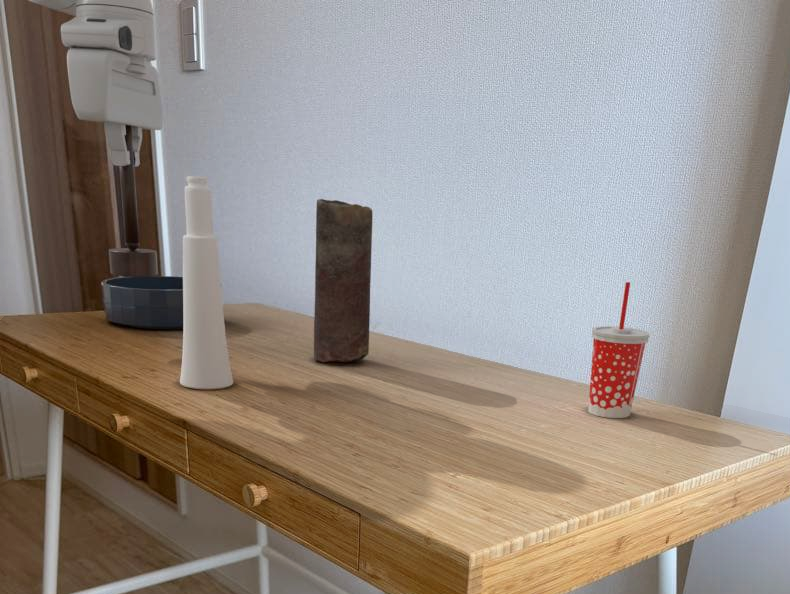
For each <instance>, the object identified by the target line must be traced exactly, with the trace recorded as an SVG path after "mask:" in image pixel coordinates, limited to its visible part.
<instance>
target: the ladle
mask: <svg viewBox="0 0 790 594" xmlns="http://www.w3.org/2000/svg"><path fill="white" fill-rule="evenodd" d="M125 126H126V135H124V136H125V142H126V147H127V151H130V165H129V166H118V169H119V180H120V182H119V183H120V194H121V195H120V196H121V207H122V208H121V209H122V217H123V218H122V222H123V232H124V233H123V234H124V244H125V247H120V248H119V247H118V248H109V249H108V256H109V257H108V258H109V259H108V260H109V269H110V270H109V271H110V274H111V275H113V276H117V277H149V276H159V271H158V254H157V250H154V249H148V248H139V247H140V230H139V219H138V218H139V217H138V202H137V188H136V187H137V185H136V174H135V171H136V170H135V167H134V157H133V142H132V128H131V126H130V125H125Z"/></svg>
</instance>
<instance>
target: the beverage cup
mask: <svg viewBox="0 0 790 594" xmlns="http://www.w3.org/2000/svg"><path fill="white" fill-rule="evenodd" d="M630 288H631V282H629V281H625V286H624V291H623V292H624V293H623V299H622V305H621V313H620V318H619V326H610V325H609V326H606V325H604V326H595V327H592V329H591V333H592V334H591V338H592V339H593V341H592V344H593V345H592V355H591V356H592V357H591V369H590V381H589V395H588V408H587V409H588V410H587V412H588V413H589V414H590V415H591V414H592V415H594V416H596V417H602V418H608V419H625V418H628V417H630V415H631V411H632V406H633V402H634V397H635V393H636V388H637V383H638V380H639V375H640V371H641V366H642V363H643V362H642V361H643V357H644V352H645V348H646V344H647V343H649V338H650V336H651V335H650V334H651V333H650V332H649V331H647V330H643V329H639V328H633V327H625V323H626V322H625V321H626V316H627V315H626V314H627V309H628V300H629V295H630Z"/></svg>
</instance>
